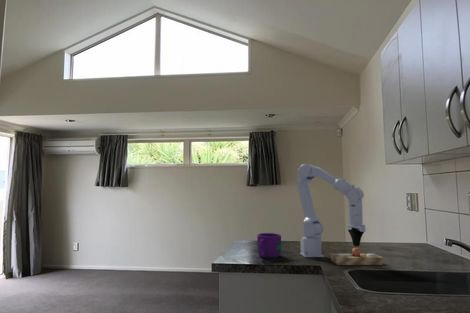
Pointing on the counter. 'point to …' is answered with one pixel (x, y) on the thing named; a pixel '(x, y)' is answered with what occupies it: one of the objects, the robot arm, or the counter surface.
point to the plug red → (356, 252)
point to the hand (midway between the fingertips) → (356, 246)
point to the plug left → (342, 255)
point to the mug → (269, 245)
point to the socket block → (357, 259)
